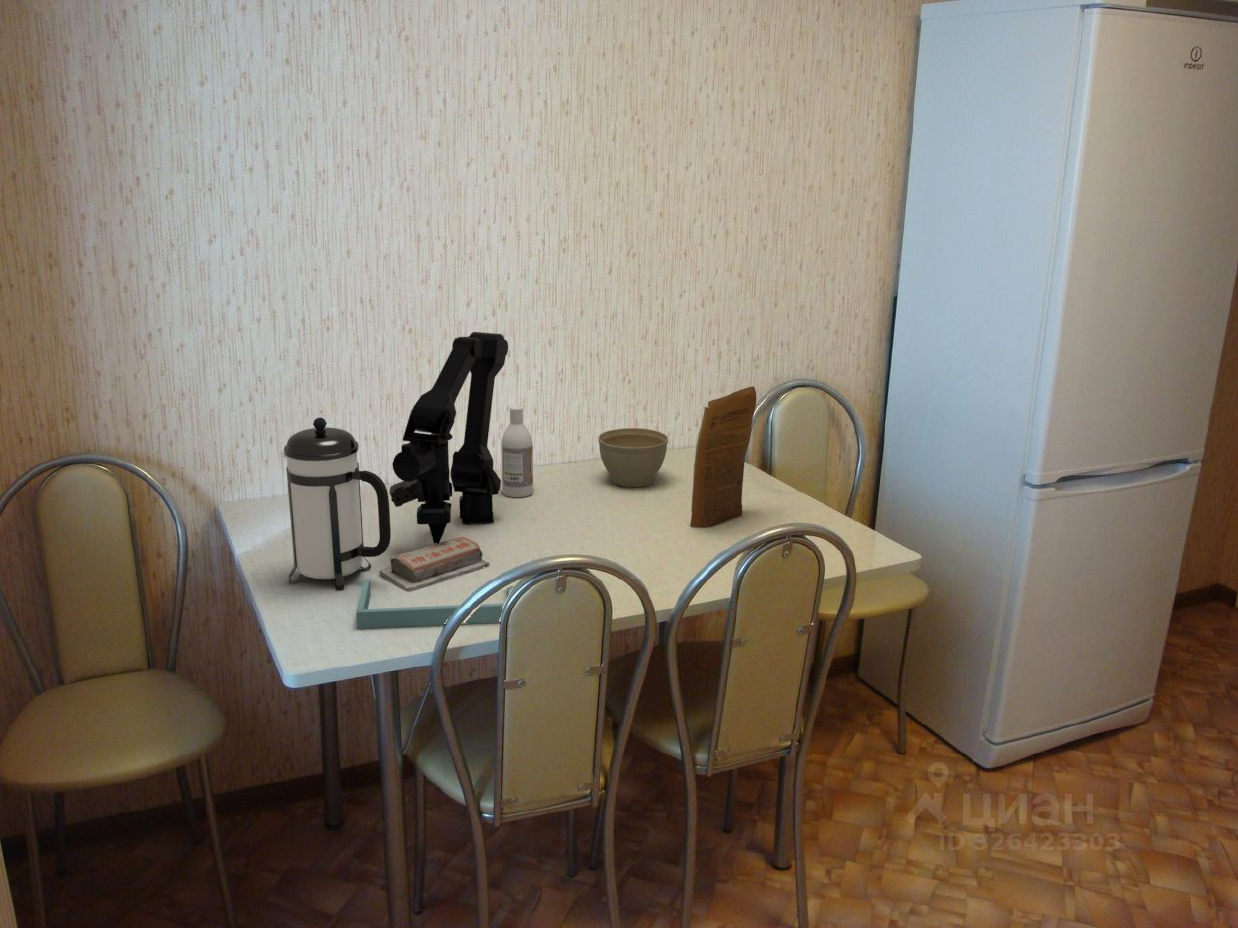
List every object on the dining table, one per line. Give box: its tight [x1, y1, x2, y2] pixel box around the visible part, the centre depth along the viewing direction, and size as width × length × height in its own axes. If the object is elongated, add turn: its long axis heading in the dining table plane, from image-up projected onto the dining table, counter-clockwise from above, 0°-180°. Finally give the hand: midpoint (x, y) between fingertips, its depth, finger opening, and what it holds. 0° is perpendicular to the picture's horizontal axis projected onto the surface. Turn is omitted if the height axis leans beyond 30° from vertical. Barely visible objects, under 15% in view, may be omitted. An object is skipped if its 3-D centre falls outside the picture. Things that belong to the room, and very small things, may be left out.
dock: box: [355, 578, 515, 630], centre depth 186 cm, size 26×14×3 cm, turn 97°
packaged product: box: [378, 536, 491, 593], centre depth 202 cm, size 18×5×10 cm
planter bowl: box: [597, 427, 669, 488], centre depth 253 cm, size 16×16×11 cm
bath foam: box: [500, 405, 534, 499], centre depth 242 cm, size 7×7×20 cm
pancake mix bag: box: [689, 386, 757, 528], centre depth 227 cm, size 7×19×28 cm, turn 134°
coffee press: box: [283, 417, 392, 591], centre depth 195 cm, size 17×16×30 cm
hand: (436, 542), depth 213 cm, fingers closed
